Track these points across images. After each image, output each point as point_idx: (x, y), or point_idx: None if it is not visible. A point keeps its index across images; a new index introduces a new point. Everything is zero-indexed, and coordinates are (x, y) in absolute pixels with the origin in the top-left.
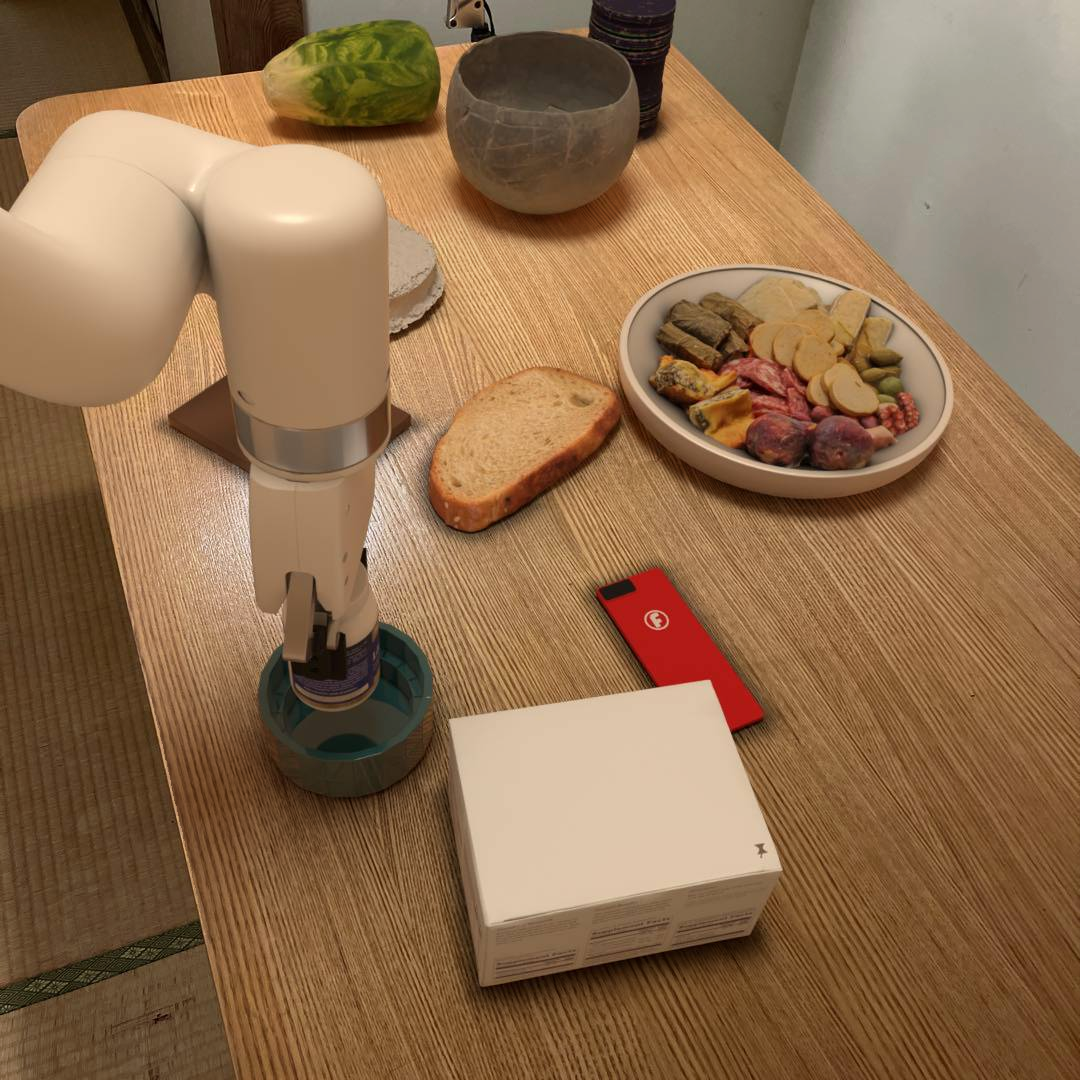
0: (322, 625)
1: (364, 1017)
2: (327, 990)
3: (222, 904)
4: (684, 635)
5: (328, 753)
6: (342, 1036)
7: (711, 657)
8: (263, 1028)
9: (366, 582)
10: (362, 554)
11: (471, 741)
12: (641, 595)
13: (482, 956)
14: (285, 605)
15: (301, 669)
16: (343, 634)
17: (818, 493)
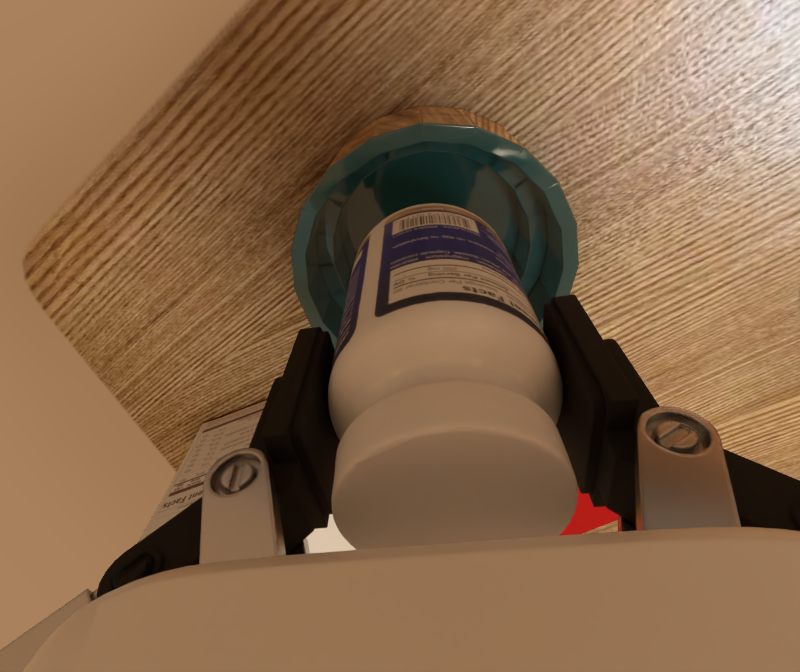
0: (303, 522)
1: (123, 349)
2: (123, 312)
3: (130, 166)
4: (604, 509)
5: (308, 293)
6: (97, 337)
7: (578, 527)
8: (51, 268)
9: None
10: (592, 501)
11: (331, 515)
12: None
13: (174, 476)
14: (412, 335)
15: (271, 391)
16: (323, 525)
17: None
